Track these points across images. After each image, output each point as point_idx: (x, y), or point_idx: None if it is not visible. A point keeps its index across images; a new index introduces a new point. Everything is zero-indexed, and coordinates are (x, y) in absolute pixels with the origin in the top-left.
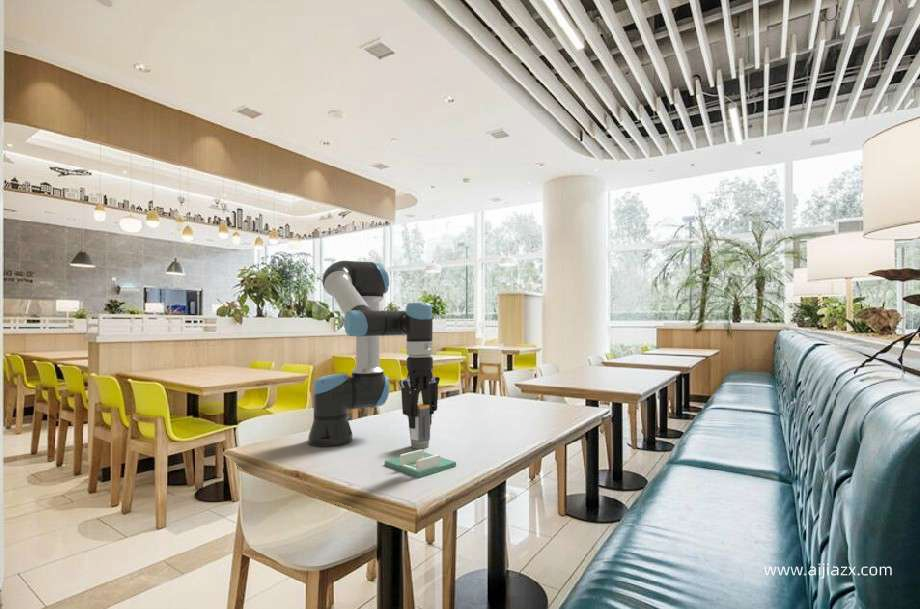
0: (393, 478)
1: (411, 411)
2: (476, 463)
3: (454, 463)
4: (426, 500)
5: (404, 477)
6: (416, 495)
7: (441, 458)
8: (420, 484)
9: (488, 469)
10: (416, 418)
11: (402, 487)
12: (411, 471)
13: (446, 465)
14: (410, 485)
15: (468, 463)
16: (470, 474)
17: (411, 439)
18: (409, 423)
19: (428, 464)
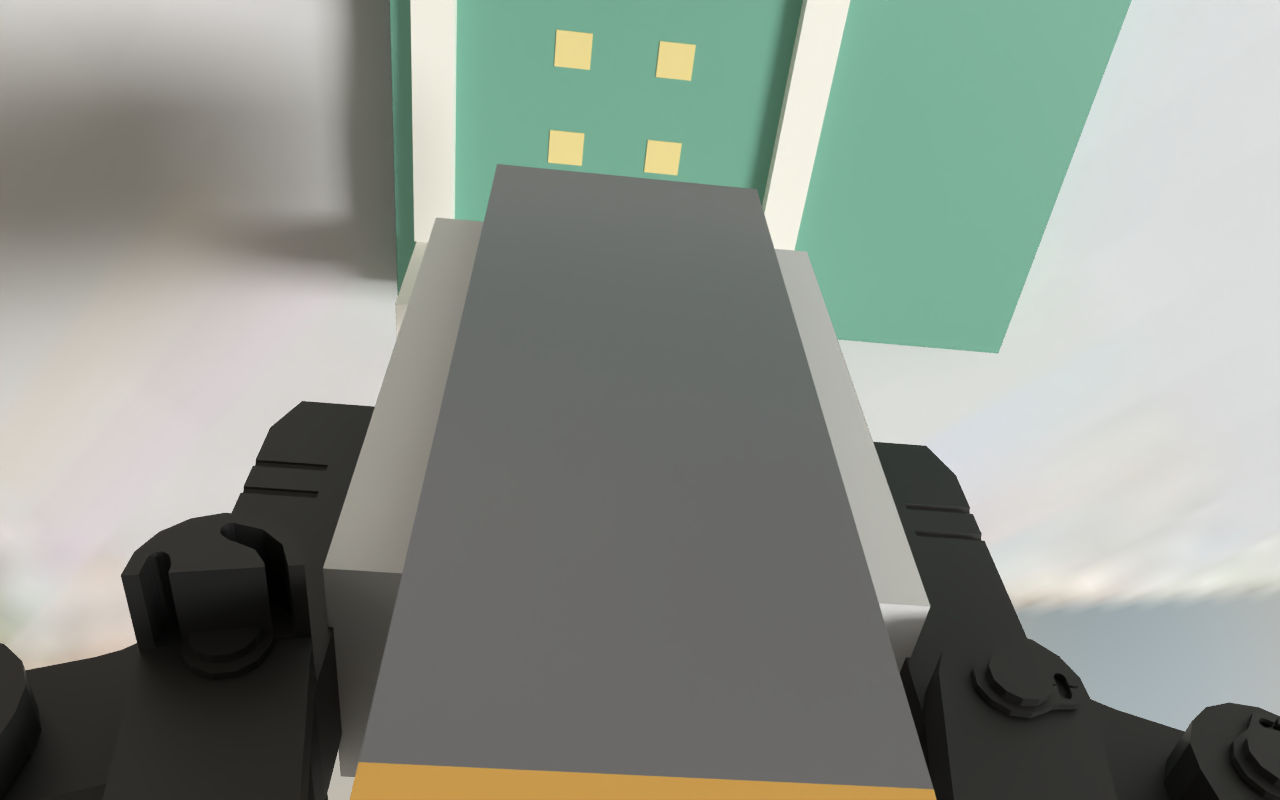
0: (145, 61)
1: (267, 762)
2: (1179, 421)
3: (968, 344)
4: (121, 644)
5: (281, 142)
6: (106, 545)
7: (1051, 120)
8: None
9: (1040, 585)
10: (348, 744)
11: (92, 345)
12: (395, 161)
13: (839, 335)
14: (193, 364)
15: (1144, 363)
16: None
17: (497, 167)
18: (252, 499)
19: None
